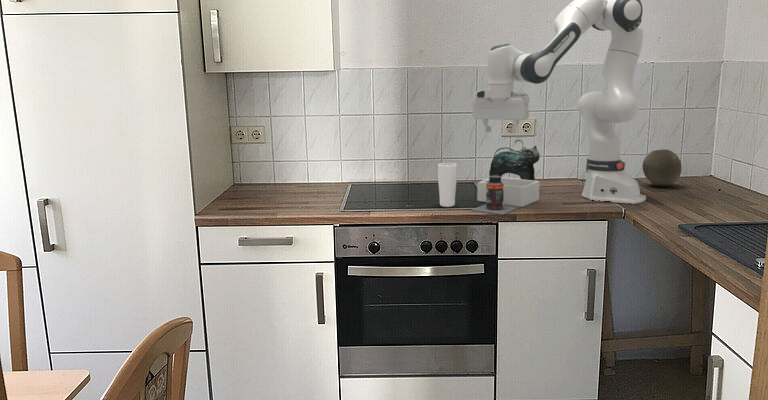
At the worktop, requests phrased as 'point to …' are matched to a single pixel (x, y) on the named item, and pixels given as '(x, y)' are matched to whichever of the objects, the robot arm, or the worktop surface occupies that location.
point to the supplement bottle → (494, 193)
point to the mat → (500, 212)
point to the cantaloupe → (662, 167)
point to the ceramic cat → (515, 162)
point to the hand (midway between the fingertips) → (500, 132)
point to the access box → (513, 191)
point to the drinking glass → (447, 183)
